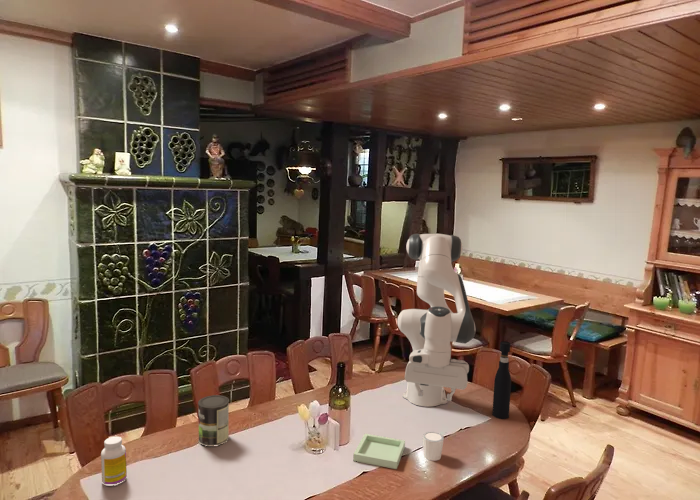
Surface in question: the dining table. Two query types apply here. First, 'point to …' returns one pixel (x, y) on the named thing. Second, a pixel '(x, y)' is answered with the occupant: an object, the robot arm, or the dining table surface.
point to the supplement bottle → (113, 461)
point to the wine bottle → (502, 384)
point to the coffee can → (213, 420)
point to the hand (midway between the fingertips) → (434, 397)
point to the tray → (379, 451)
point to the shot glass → (432, 445)
